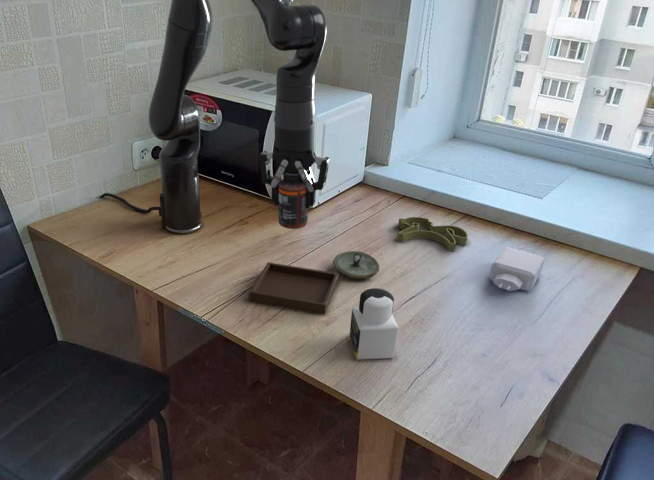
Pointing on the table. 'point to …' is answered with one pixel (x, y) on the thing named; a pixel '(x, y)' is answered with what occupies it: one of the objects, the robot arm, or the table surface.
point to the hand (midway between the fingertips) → (293, 205)
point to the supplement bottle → (292, 201)
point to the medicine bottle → (374, 325)
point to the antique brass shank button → (356, 265)
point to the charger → (516, 269)
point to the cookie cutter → (431, 232)
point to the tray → (294, 288)
